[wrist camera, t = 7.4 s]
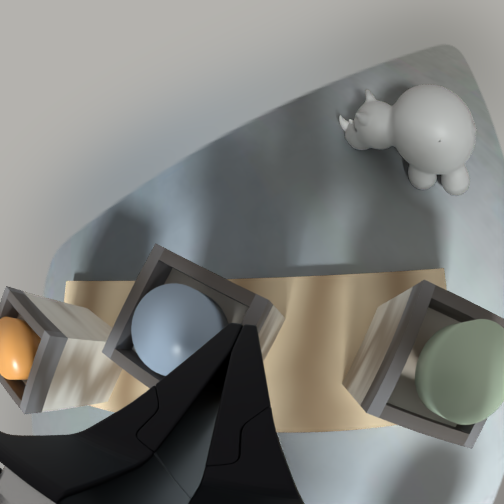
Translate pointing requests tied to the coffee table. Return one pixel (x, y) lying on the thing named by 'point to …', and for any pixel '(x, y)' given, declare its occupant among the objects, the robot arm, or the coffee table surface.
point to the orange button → (17, 348)
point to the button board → (297, 345)
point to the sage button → (463, 371)
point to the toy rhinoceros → (419, 134)
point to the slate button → (174, 325)
